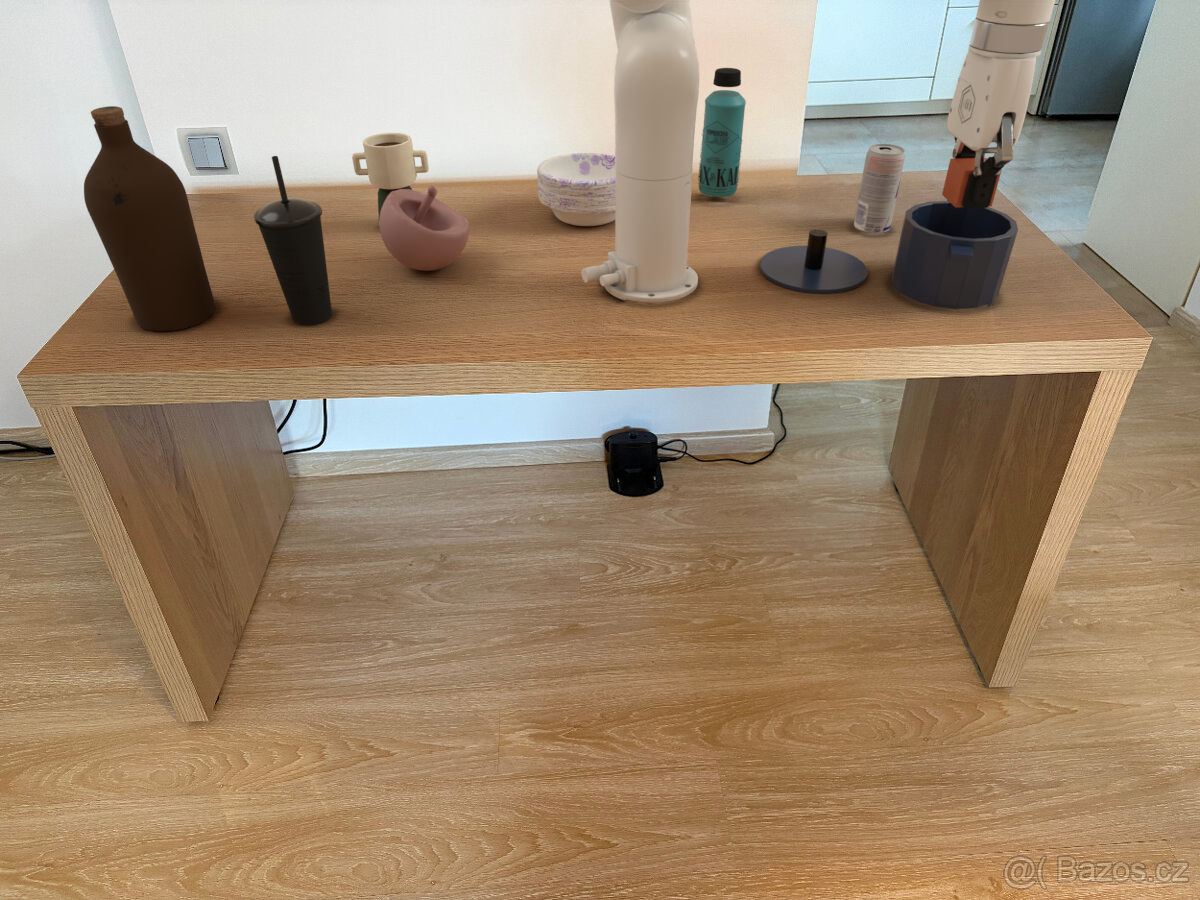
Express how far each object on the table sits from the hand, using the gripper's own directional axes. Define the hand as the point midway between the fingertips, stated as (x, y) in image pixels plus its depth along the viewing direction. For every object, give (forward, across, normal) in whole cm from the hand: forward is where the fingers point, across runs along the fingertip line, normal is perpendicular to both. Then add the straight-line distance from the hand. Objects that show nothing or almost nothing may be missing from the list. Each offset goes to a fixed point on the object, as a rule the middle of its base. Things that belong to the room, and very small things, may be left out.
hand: (966, 197), depth 104 cm
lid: (+12, -6, -16) cm, 21 cm away
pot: (+12, 0, 0) cm, 12 cm away
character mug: (+12, -27, -75) cm, 81 cm away
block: (0, 0, 0) cm, 0 cm away
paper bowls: (+12, -29, -46) cm, 56 cm away
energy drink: (+12, -21, -4) cm, 24 cm away
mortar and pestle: (+12, -11, -69) cm, 71 cm away
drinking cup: (+12, +3, -82) cm, 83 cm away
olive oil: (+12, +2, -99) cm, 100 cm away
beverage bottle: (+12, -35, -25) cm, 44 cm away
